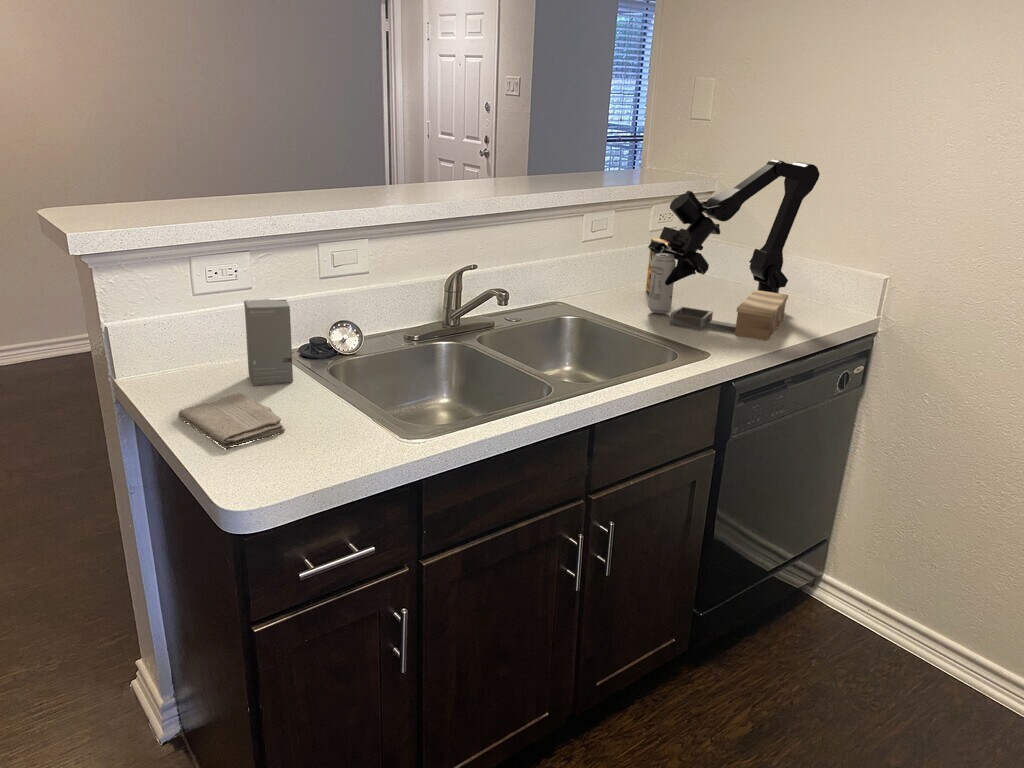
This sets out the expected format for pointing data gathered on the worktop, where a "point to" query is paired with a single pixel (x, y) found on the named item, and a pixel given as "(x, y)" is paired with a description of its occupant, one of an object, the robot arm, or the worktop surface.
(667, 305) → the energy drink can
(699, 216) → the robot arm
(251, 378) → the skincare box
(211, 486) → the worktop surface
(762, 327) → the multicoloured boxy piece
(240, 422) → the washcloth
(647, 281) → the candy box
